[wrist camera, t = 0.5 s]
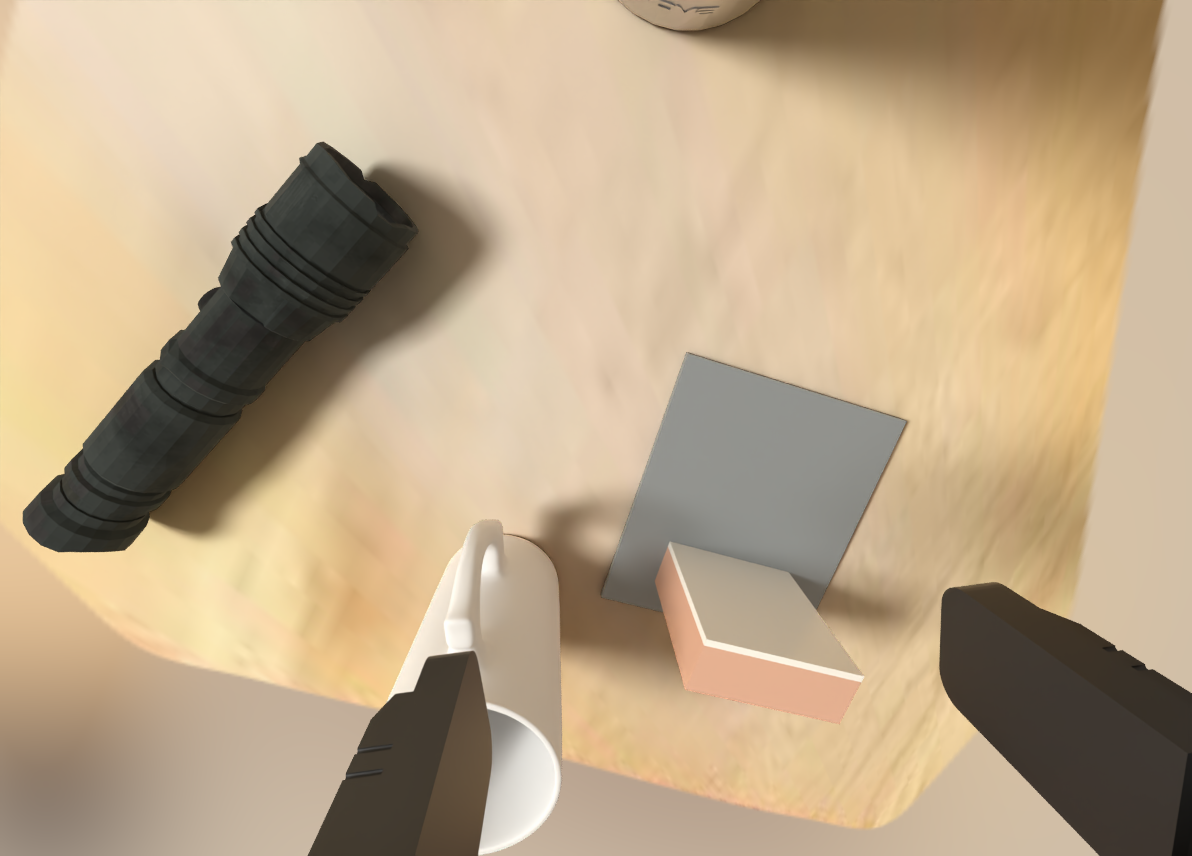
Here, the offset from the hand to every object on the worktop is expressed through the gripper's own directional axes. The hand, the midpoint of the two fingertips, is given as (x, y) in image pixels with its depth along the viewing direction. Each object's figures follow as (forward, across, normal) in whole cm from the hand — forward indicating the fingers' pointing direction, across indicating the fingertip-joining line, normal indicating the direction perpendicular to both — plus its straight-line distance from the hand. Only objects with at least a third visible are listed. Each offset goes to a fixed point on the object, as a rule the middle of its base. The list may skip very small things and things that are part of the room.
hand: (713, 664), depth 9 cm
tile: (+19, -5, +9) cm, 22 cm away
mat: (+19, -7, +6) cm, 21 cm away
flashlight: (+19, +17, -5) cm, 26 cm away
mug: (+20, +7, +7) cm, 22 cm away
